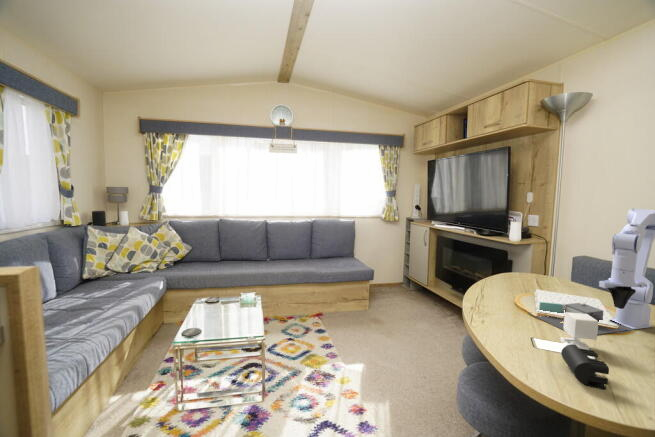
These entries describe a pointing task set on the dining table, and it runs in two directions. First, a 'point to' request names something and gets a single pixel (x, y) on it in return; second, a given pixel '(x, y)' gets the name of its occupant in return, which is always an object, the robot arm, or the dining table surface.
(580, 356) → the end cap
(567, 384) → the dining table surface
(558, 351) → the smartphone
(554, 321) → the mat
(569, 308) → the housing
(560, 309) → the side door
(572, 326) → the security camera
